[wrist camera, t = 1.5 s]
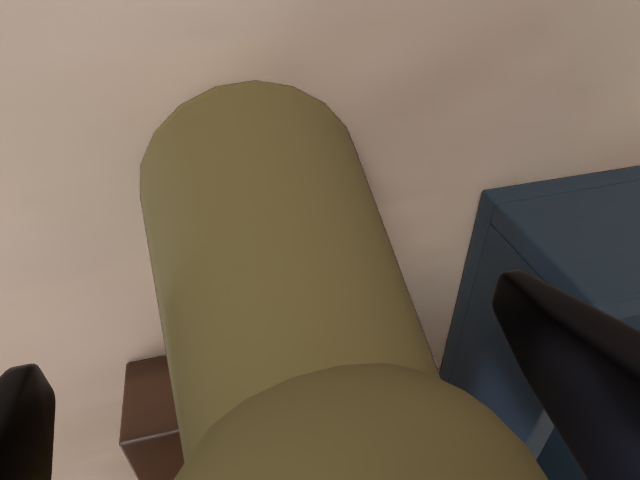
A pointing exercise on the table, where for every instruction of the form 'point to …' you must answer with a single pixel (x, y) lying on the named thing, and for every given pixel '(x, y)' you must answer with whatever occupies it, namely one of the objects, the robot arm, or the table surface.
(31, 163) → the table surface
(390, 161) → the table surface
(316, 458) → the cork
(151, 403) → the panel
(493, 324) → the basin
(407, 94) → the table surface
